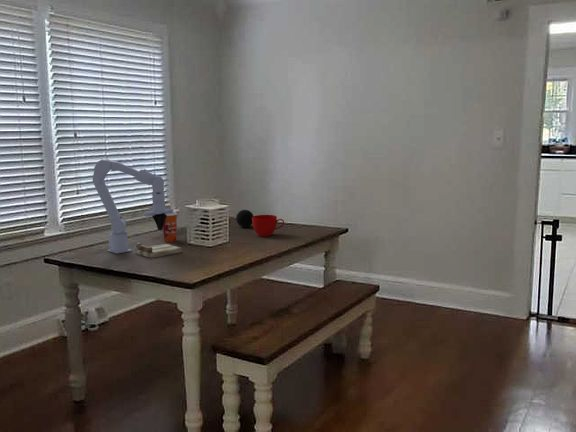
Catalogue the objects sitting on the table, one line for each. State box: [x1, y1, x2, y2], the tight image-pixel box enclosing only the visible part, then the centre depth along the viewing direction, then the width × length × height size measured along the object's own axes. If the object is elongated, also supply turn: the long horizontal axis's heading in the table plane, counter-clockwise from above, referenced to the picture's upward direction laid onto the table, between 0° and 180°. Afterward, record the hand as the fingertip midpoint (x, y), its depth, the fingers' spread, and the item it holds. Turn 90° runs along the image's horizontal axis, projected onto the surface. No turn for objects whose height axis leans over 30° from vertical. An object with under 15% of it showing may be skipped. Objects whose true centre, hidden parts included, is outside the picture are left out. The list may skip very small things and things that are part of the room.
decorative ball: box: [235, 209, 254, 228], centre depth 340 cm, size 10×10×10 cm
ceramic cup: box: [252, 214, 285, 237], centre depth 315 cm, size 13×17×10 cm
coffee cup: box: [162, 210, 178, 243], centre depth 305 cm, size 8×8×15 cm
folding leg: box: [135, 242, 152, 253], centre depth 275 cm, size 11×2×3 cm, turn 43°
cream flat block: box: [134, 243, 182, 259], centre depth 279 cm, size 14×16×2 cm
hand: (160, 229), depth 286 cm, fingers closed
